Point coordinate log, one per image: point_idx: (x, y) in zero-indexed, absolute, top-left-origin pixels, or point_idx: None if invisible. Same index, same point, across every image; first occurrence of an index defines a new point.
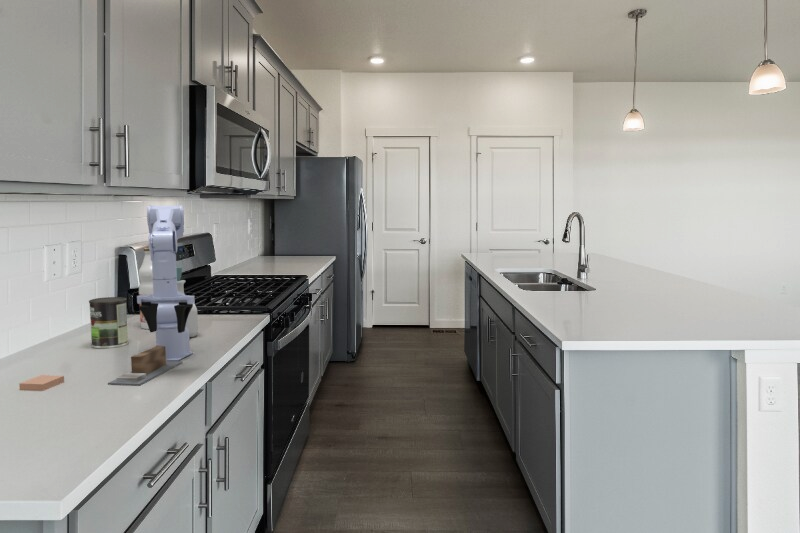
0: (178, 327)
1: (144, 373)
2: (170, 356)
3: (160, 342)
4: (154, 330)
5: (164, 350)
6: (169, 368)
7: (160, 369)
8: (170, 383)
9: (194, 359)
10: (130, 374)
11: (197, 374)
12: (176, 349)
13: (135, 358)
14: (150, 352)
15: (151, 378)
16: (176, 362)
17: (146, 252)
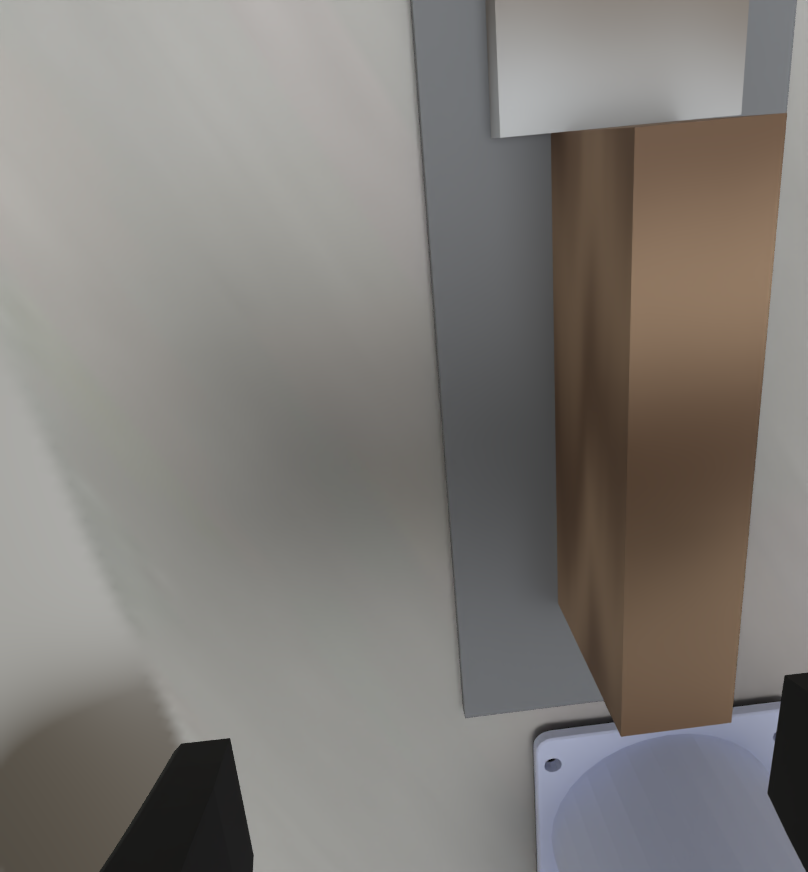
0: (176, 818)
1: (515, 128)
2: (621, 767)
3: (780, 870)
4: (786, 754)
5: (604, 682)
6: (448, 499)
7: (515, 447)
8: (100, 18)
9: (427, 815)
10: (660, 50)
11: (60, 411)
12: (598, 852)
13: (704, 121)
14: (630, 417)
15: (421, 132)
16: (502, 681)
17: None
